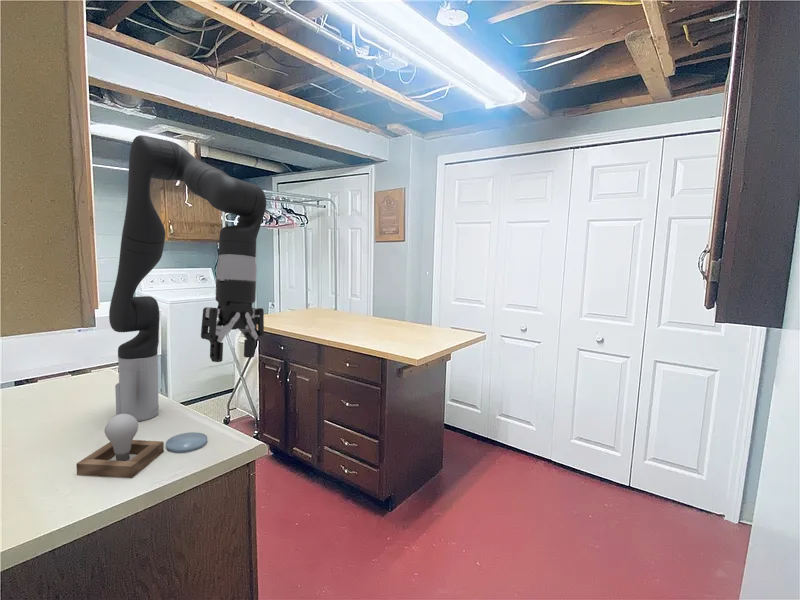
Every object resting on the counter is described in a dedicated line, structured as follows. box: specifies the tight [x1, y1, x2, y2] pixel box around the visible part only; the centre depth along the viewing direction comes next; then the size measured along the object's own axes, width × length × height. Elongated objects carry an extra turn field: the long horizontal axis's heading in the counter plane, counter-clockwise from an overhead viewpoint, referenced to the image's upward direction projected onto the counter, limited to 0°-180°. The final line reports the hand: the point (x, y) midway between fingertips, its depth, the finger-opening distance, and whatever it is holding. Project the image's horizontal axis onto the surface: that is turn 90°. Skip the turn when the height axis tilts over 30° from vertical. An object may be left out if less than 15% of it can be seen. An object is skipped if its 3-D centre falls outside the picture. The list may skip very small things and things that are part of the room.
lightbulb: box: [104, 414, 139, 461], centre depth 93 cm, size 6×6×11 cm
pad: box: [165, 431, 208, 454], centre depth 104 cm, size 9×9×1 cm
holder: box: [76, 439, 165, 479], centre depth 94 cm, size 12×12×2 cm
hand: (233, 359), depth 86 cm, fingers open, 8 cm apart
